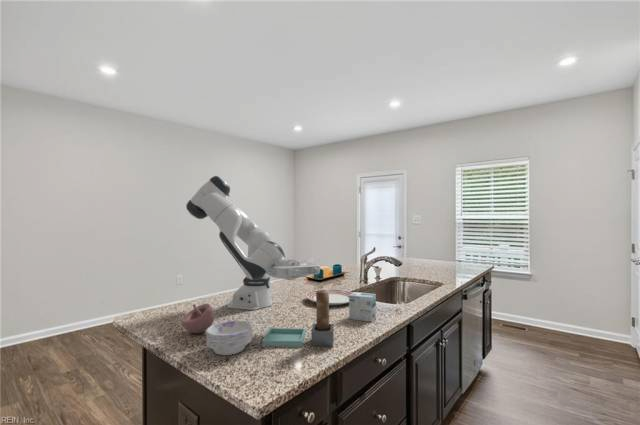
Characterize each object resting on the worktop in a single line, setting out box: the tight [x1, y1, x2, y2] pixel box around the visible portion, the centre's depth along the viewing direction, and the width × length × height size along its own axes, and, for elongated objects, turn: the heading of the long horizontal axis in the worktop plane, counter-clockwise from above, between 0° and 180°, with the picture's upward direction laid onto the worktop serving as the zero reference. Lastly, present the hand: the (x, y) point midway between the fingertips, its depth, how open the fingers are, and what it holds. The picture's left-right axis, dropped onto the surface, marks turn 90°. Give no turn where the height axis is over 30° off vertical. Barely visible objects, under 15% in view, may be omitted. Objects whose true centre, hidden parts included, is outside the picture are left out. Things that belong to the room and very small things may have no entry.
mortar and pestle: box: [181, 303, 215, 334], centre depth 125 cm, size 12×12×12 cm
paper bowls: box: [205, 320, 253, 356], centre depth 109 cm, size 15×15×8 cm
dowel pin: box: [315, 291, 330, 330], centre depth 113 cm, size 4×4×18 cm
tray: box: [261, 327, 307, 348], centre depth 116 cm, size 14×12×2 cm
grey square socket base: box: [310, 322, 335, 348], centre depth 113 cm, size 8×8×6 cm
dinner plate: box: [305, 288, 353, 307], centre depth 168 cm, size 28×27×3 cm
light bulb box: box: [348, 291, 377, 323], centre depth 139 cm, size 11×7×11 cm, turn 65°
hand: (307, 271), depth 123 cm, fingers open, 8 cm apart
